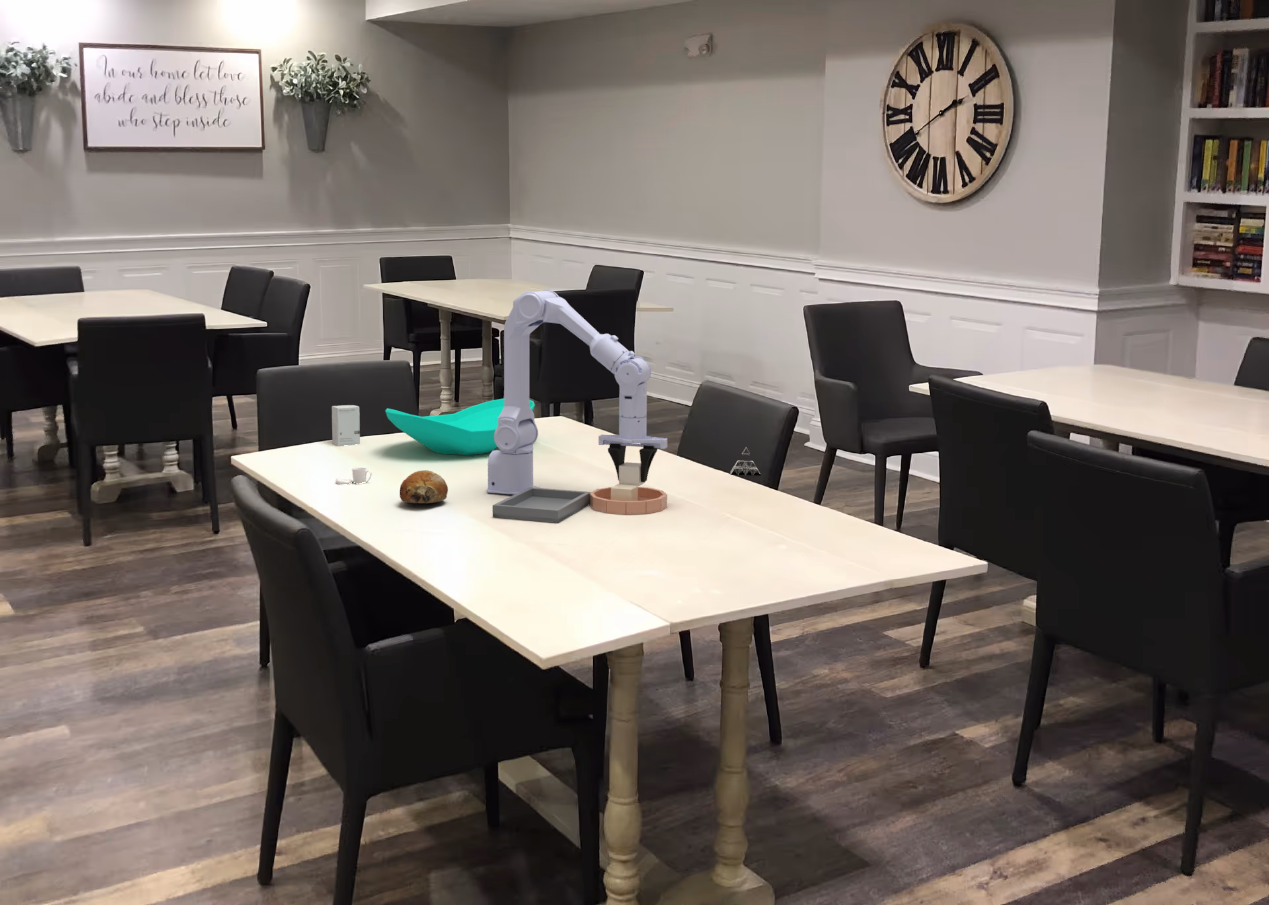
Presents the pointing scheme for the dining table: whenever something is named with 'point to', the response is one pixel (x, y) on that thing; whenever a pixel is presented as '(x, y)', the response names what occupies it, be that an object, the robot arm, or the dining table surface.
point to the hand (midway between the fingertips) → (632, 480)
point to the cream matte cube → (624, 492)
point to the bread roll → (423, 488)
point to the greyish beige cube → (630, 474)
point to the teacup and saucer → (355, 476)
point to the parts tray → (542, 505)
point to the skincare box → (345, 425)
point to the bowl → (629, 502)
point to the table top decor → (454, 428)
